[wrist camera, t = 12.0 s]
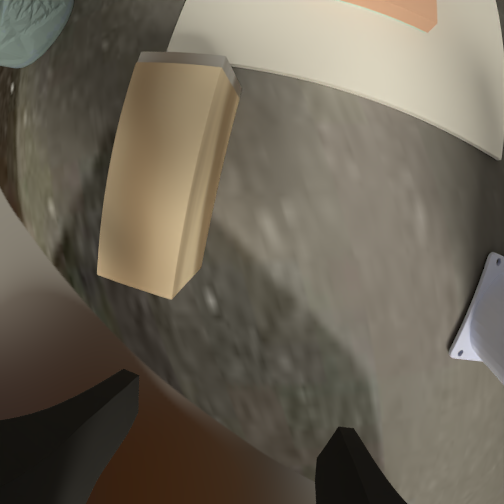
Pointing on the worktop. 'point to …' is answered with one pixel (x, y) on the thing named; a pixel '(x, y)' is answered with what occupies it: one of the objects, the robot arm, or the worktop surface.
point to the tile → (403, 11)
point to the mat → (367, 55)
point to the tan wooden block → (166, 169)
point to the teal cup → (30, 29)
